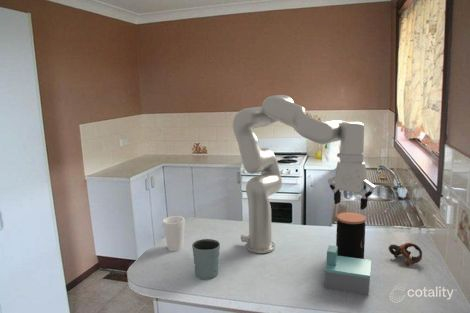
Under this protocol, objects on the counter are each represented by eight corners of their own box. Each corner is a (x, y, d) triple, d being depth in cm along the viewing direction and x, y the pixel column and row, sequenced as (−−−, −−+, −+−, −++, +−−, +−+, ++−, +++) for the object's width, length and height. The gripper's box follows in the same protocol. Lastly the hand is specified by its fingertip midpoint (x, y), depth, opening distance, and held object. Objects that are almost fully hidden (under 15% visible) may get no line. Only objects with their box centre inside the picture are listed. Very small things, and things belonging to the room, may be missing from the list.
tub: (324, 290, 129) (325, 271, 127) (329, 275, 139) (329, 257, 137) (368, 297, 124) (369, 278, 122) (369, 281, 134) (370, 263, 132)
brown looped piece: (416, 256, 152) (424, 244, 147) (416, 276, 145) (424, 264, 140) (386, 246, 155) (392, 234, 149) (384, 265, 148) (391, 253, 143)
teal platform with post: (324, 275, 127) (324, 255, 126) (329, 260, 138) (329, 241, 136) (369, 282, 122) (370, 261, 121) (371, 266, 133) (371, 246, 131)
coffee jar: (365, 267, 144) (367, 222, 140) (336, 265, 146) (337, 221, 142) (362, 254, 154) (363, 212, 150) (335, 253, 156) (336, 211, 152)
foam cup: (160, 251, 162) (158, 222, 160) (171, 242, 171) (169, 215, 168) (179, 254, 159) (177, 224, 156) (190, 245, 167) (188, 217, 165)
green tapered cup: (188, 273, 143) (187, 243, 141) (211, 264, 149) (209, 236, 147) (203, 283, 135) (201, 252, 133) (226, 274, 141) (225, 244, 139)
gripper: (323, 157, 133) (322, 203, 136) (371, 163, 121) (369, 214, 124) (334, 153, 138) (333, 198, 141) (381, 159, 126) (378, 208, 130)
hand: (350, 205), depth 133 cm, fingers open, 9 cm apart
